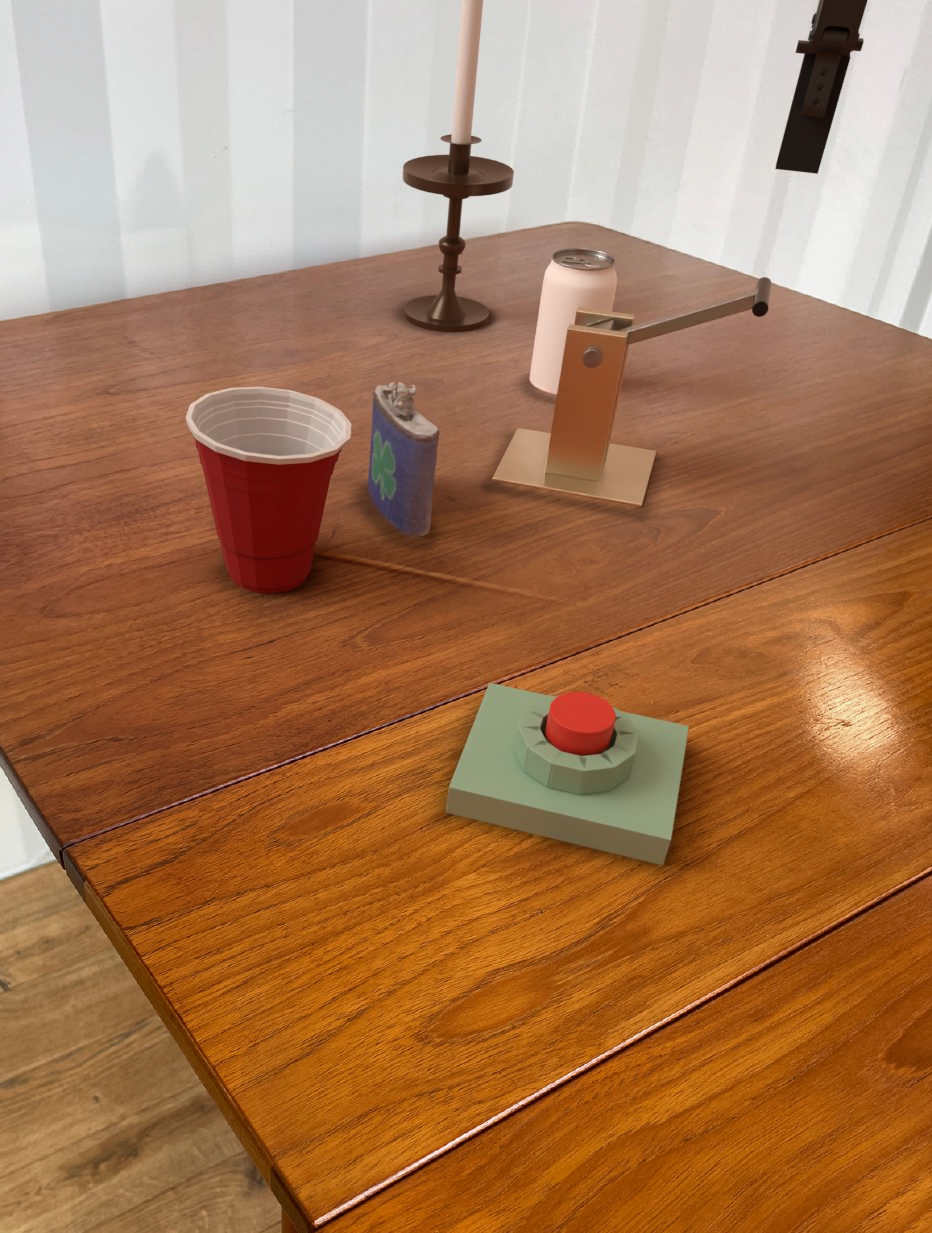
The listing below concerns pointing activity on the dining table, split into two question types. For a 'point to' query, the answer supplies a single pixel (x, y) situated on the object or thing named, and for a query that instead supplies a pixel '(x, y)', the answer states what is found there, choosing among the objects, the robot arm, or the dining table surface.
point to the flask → (402, 459)
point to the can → (568, 306)
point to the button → (580, 723)
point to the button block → (570, 778)
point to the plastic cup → (267, 478)
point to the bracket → (583, 423)
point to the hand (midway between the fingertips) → (796, 167)
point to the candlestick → (456, 189)
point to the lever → (699, 314)
